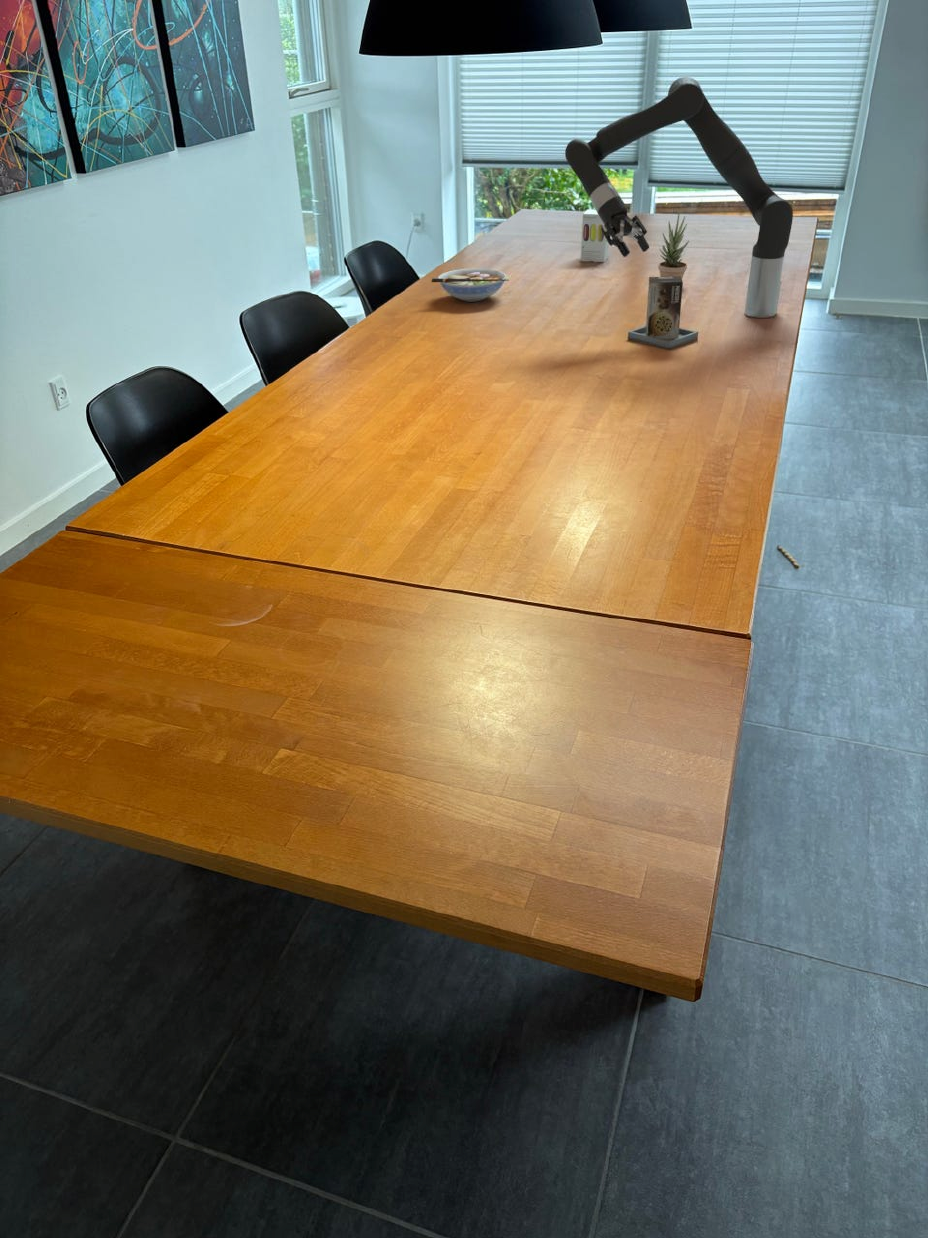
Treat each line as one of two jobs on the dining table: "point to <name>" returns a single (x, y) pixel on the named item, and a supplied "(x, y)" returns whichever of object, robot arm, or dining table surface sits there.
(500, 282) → the ramen bowl
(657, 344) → the tray
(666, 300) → the coffee box
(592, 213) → the supplement box
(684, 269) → the potted plant
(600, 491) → the dining table surface
